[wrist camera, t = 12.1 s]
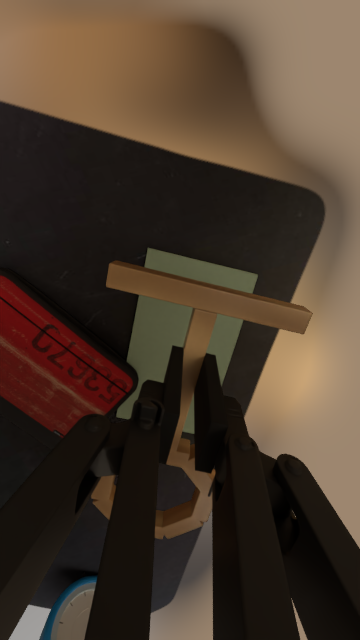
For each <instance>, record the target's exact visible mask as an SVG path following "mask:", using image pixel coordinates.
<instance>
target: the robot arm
mask: <svg viewBox="0 0 360 640" xmlns="http://www.w3.org/2000/svg"><path fill="white" fill-rule="evenodd" d="M183 357H184V351H183V347H178V346H174V345H172V349H171V353H170V357H169V361H168V366H167V370H166V374H165V378H164V382H163V383H162V382H158V381H153V380H149V379H147V380H146V381H145V382H144V383H143V384H142V386H141V390H140V393H139V396H138V399H137V400H136V401H135V402H134V404H133V409H132V414H131V418H130V419H128V420H127V421H124V422H121V423H110V421H109V419H108V418H107V417H105V416H103V415H100V414H88V415H85V416H83V417H82V418H80V419H79V420H78V421H77V422H76V424H75V425H74V426H73V427H72V428H71V429H70V430H69V432H68V433H67V434H66V435H65V436H64V437H63V438H62V440H61V441H60V442H59V443H58V444H57V445H56V446H55V447H54V449H53V450H52V451H51V452H50V453H49V454H48V455H47V457H46V458H45V459H44V460H43V461H42V462H41V463H40V465H39V466H38V467H37V468H36V469H35V470H34V471H33V473H32V474H31V475H30V476H29V477H28V478H27V479H26V481H25V482H24V483H23V484H22V485H21V486H20V487H19V488H18V490H17V491H16V492H15V493H14V494H13V495H12V496H11V498H10V499H9V500H8V501H7V502H6V503H5V504H4V506H3V507H2V508H1V509H0V640H8V639H9V637H10V636H11V634H12V632H13V631H14V629H15V627H16V626H17V624H18V622H19V620H20V618H21V617H22V615H23V613H24V612H25V610H26V608H27V606H28V605H29V603H30V601H31V599H32V598H33V596H34V594H35V592H36V591H37V589H38V587H39V585H40V584H41V582H42V580H43V578H44V577H45V575H46V573H47V572H48V570H49V568H50V566H51V565H52V563H53V561H54V559H55V558H56V556H57V554H58V552H59V551H60V549H61V547H62V545H63V544H64V542H65V540H66V538H67V537H68V535H69V533H70V531H71V530H72V528H73V526H74V524H75V523H76V521H77V519H78V518H79V516H80V514H81V512H82V511H83V509H84V507H85V505H86V504H87V502H88V500H89V498H90V497H91V495H92V493H93V491H94V490H95V488H96V486H97V484H98V483H99V481H100V479H101V477H103V476H112V475H119V476H118V480H117V485H116V490H115V495H114V499H113V504H112V509H111V514H110V519H109V523H108V528H107V533H106V538H105V543H104V547H103V552H102V557H101V562H100V566H99V571H98V576H97V581H96V586H95V590H94V595H93V600H92V605H91V609H90V614H89V619H88V624H87V629H86V633H85V638H84V640H149V632H150V614H151V596H152V577H153V559H154V541H155V522H156V504H157V485H158V467H159V463H162V464H166V463H167V460H168V456H169V453H170V449H171V446H172V442H173V438H174V435H175V431H176V428H177V424H178V421H179V417H180V408H181V391H182V374H183ZM194 438H195V471H200V472H205V473H210V474H211V473H212V471H213V468H214V465H215V476H214V479H213V481H212V484H211V487H210V490H209V493H208V497H210V496H211V493H212V517H213V518H212V527H213V529H212V530H213V640H300V636H299V632H298V627H297V623H296V618H295V613H294V609H293V604H292V600H293V603H294V606H295V608H296V611H297V613H298V616H299V618H300V621H301V624H302V626H303V629H304V631H305V634H306V637H307V639H308V640H360V549H359V547H358V546H357V544H356V542H355V541H354V539H353V538H352V536H351V535H350V533H349V532H348V530H347V529H346V527H345V525H344V524H343V522H342V521H341V519H340V518H339V516H338V515H337V513H336V511H335V510H334V508H333V507H332V505H331V504H330V502H329V501H328V499H327V498H326V496H325V494H324V493H323V491H322V490H321V488H320V487H319V485H318V484H317V482H316V480H315V479H314V477H313V476H312V474H311V473H310V471H309V470H308V468H307V467H306V466H305V464H304V463H303V462H301V461H300V460H299V459H298V458H295V457H294V456H292V455H288V454H281V455H279V456H278V458H277V460H276V459H274V458H272V457H270V456H268V455H265V454H264V453H262V452H260V451H259V449H258V446H257V444H256V442H255V441H254V440H253V439H252V438H250V437H249V435H248V431H247V427H246V424H245V420H244V416H243V413H242V409H241V405H240V404H239V402H238V401H237V400H236V399H235V398H232V397H228V396H223V393H222V387H221V382H220V376H219V371H218V366H217V360H216V355H213V354H209V353H206V354H205V356H204V359H203V363H202V366H201V369H200V373H199V376H198V380H197V383H196V386H195V390H194ZM292 510H293V511H292ZM293 512H294V513H293ZM294 514H295V515H294ZM295 516H296V517H295ZM291 598H292V600H291Z"/></svg>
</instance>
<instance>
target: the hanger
mask: <svg viewBox="0 0 360 640" xmlns="http://www.w3.org/2000/svg"><path fill="white" fill-rule="evenodd" d="M106 287H109V288H113V289H118V290H122V291H126V292H130V293H134V294H138V295H142V296H147V297H151V298H155V299H159V300H163V301H167V302H171V303H176V304H180V305H184V306H188V307H192V308H193V310H192V314H191V318H190V321H189V325H188V329H187V332H186V336H185V340H184V344H183V351H184V357H183V374H182V391H181V408H180V417H179V421H178V424H177V428H176V431H175V435H174V438H173V442H172V446H171V449H170V453H169V456H168V460H167V463H166V464H168V465H173V466H177V467H182V469H183V470H184V471H185V473H186V474H187V475H188V476H189V478H190V479H191V480H192V482H193V483H194V484H195V485H196V488H195V491H194V494H193V497H192V499H191V500H190V501H188V502H186V503H183V504H181V505H178V506H176V507H173V508H171V509H168V510H166V511H159V510H156V522H155V538H158V539H162V538H163V536H164V535H165V536H166V537H167V539H169V538H172V537H175V536H177V535H180V534H183V533H185V532H188V531H190V530H193V529H196V528H198V527H201V526H203V522H207V521H208V518H209V515H210V513H211V510H212V493H211V496H210V497H208V493H209V490H210V487H211V484H212V481H213V479H214V476H215V470H214V469H213V471H212V473H211V474H210V473H205V472H200V471H195V444H192V445H190V440H187V439H183V438H181V434H182V431H183V428H184V424H185V421H186V418H187V414H188V411H189V408H190V404H191V401H192V398H193V394H194V390H195V386H196V383H197V380H198V376H199V373H200V369H201V366H202V363H203V359H204V356H205V354H206V351H207V348H208V345H209V341H210V338H211V335H212V331H213V328H214V325H215V321H216V318H217V314H221V315H225V316H229V317H234V318H238V319H242V320H246V321H250V322H254V323H258V324H263V325H267V326H271V327H275V328H279V329H283V330H288V331H292V332H296V333H300V334H304V333H305V331H306V328H307V326H308V324H309V321H310V319H311V317H312V314H313V313H312V312H310V311H309V310H308V309H306V308H305V307H304V306H300V305H296V304H292V303H288V302H284V301H280V300H275V299H271V298H267V297H263V296H259V295H255V294H251V293H247V292H243V291H239V290H235V289H231V288H227V287H223V286H219V285H214V284H210V283H206V282H202V281H198V280H194V279H190V278H186V277H182V276H178V275H174V274H170V273H166V272H162V271H157V270H153V269H149V268H145V267H141V266H137V265H133V264H129V263H125V262H121V261H117V260H116V261H114V262H111V263H110V264H109V269H108V275H107V282H106ZM114 479H115V475H112V476H103V477H101V479H100V481H99V483H98V484H97V486H96V488H95V490H94V491H93V493H92V495H91V498H92V499H94V500H93V504H94V505H95V506H96V507H97V508H98V509H99V510H100V511H101V512H102V513H103V514H104V515H105V516H106V517H107V518H108V519H110V514H111V509H112V504H113V499H114V495H115V490H116V486H115V485H114Z"/></svg>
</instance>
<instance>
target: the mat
mask: <svg viewBox="0 0 360 640" xmlns="http://www.w3.org/2000/svg"><path fill="white" fill-rule="evenodd" d="M144 267H145V268H149V269H153V270H157V271H162V272H166V273H170V274H174V275H178V276H182V277H186V278H190V279H194V280H198V281H202V282H206V283H210V284H214V285H219V286H223V287H227V288H231V289H235V290H239V291H243V292H247V293H251V294H252V292H253V289H254V286H255V283H256V280H257V277H258V274H254V273H250V272H246V271H242V270H238V269H234V268H229V267H225V266H221V265H217V264H213V263H209V262H205V261H201V260H196V259H192V258H188V257H184V256H180V255H176V254H172V253H168V252H164V251H159V250H155V249H151V248H148V250H147V256H146V261H145V266H144ZM192 310H193V308H192V307H188V306H184V305H180V304H176V303H171V302H167V301H163V300H159V299H155V298H151V297H147V296H142V295H139V298H138V303H137V309H136V314H135V319H134V325H133V330H132V335H131V341H130V346H129V351H128V357H127V362H128V363H129V364H130V365H131V366H132V367H133V368H134V369H135V370H136V372H137V374H138V378H139V381H138V386H137V389H136V390H135V392H134V393H133V394H132V395H131V396H130V397H129V398H128V399H127V400H126V401H125V402H124V403H123V404H122V405H121V406H120V407H119V408H118V410H117V415H116V417H119V418H124V419H130V418H131V414H132V409H133V404H134V402H135V401H136V400H137V399H138V396H139V393H140V390H141V386H142V384H143V383H144V382H145V381H146V380H147V379H149V380H153V381H158V382H162V383H163V382H164V378H165V374H166V370H167V366H168V361H169V357H170V353H171V349H172V345H174V346H178V347H183V344H184V340H185V336H186V332H187V329H188V325H189V321H190V318H191V314H192ZM242 323H243V320H242V319H238V318H234V317H229V316H225V315H221V314H217V318H216V321H215V325H214V328H213V331H212V335H211V338H210V341H209V345H208V348H207V351H206V353H209V354H213V355H216V360H217V366H218V371H219V376H220V382H221V386H222V383H223V380H224V377H225V374H226V371H227V368H228V365H229V362H230V359H231V356H232V353H233V350H234V347H235V344H236V341H237V338H238V335H239V332H240V329H241V326H242ZM183 432H188V433H192V434H194V394H193V398H192V401H191V404H190V408H189V411H188V414H187V418H186V421H185V424H184V428H183Z"/></svg>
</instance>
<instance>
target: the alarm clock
mask: <svg viewBox="0 0 360 640" xmlns="http://www.w3.org/2000/svg"><path fill="white" fill-rule="evenodd" d="M97 576H98V575H92V576H87V577H86V575H85V571H84V572H83V578H81V579H79V580H77V581H75V582H74V583H72V584H71V585H70V586H69V587H67V588H66V589H65V590H64V592H63V593H62V594H61V595H60V596H59V598H58V599H57V600H56V602H55V604H54V605H53V607H52V609H51V611H50V613H49V616H48V618H47V621H46V623H45V626H44V628H43V631H42V634H41V636H40V639H39V640H84V638H85V633H86V629H87V624H88V619H89V614H90V609H91V605H92V600H93V595H94V590H95V586H96V581H97Z"/></svg>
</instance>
